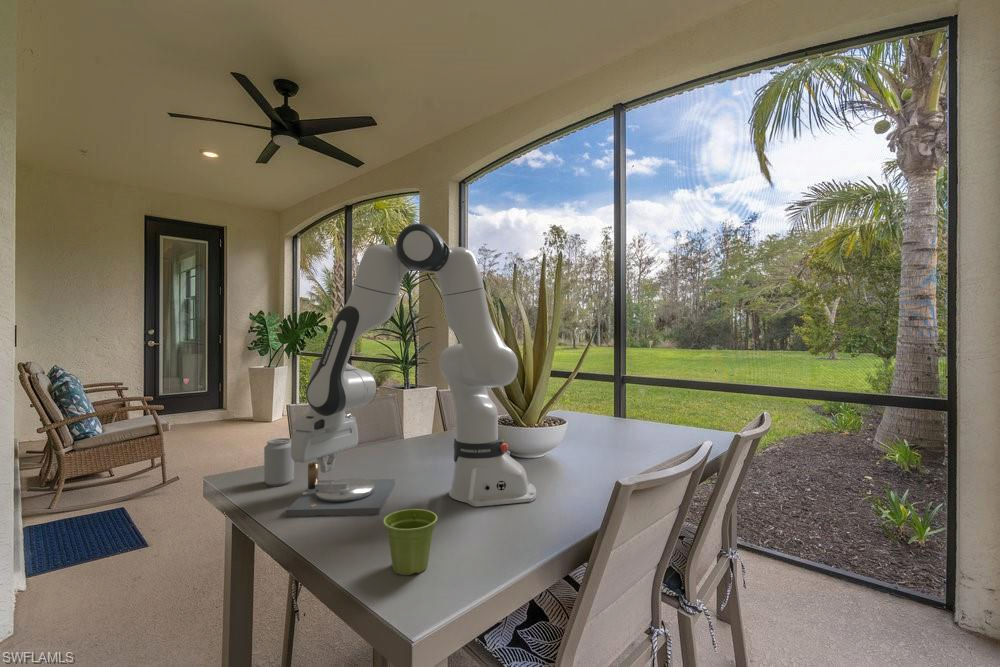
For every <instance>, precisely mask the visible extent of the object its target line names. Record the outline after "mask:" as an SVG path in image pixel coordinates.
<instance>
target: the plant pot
mask: <svg viewBox="0 0 1000 667" xmlns="http://www.w3.org/2000/svg"><path fill="white" fill-rule="evenodd" d="M437 521H438V516H437V514H436V513H435V512H433V511H432V510H427V509H422V508H410V509H402V510H397V511H393V512H391V513H389V514H387V515H386V516H385V517H384V518H383V525H384V527H385V529H386V533H387V534H388V540H389V541H388V543H389V548H390V549H389V550H390V556H391V562H392V564H391V565H392V569H393V571H394V572H395V573H396V574H399V575H403V576H411V575H412V574H414V573H418V574H420V573H422V572H424V571H425V570H426V569H427V568H428V566H429V558H430V552H431V545H432V539H433V538H432V537H433V532H434V529H435V525H436V523H437Z"/></svg>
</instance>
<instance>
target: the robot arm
mask: <svg viewBox="0 0 1000 667" xmlns="http://www.w3.org/2000/svg"><path fill="white" fill-rule="evenodd" d="M416 271H417V272H432V273H434V275H435V276H436V278H437V281H438V285H439V290H440V295H441V300H442V301H441V302H442V305H443V311H444V315H445V319H446V324H447V326H448V328H449V329H450V330H451V331H452V332H454V334H455V335H456V337H457V338H458V340H459V342H460V343H456V344H454V345H450V346H448V347H446V348H444V350H443V351H442V352H441V354H440V356H439V358H438V367H439V371H440V373H441V375H442V376H443V377H444V379H445V381H446V382H447V384H448V386H449V387H448V388H449V390H450V395H451V397H452V401H453V406H454V413H455V414H454V420H455V423H454V424H455V438H453V439H454V441H453V443H452V444H453V446H452V447H453V453H452V454H453V455H452V456H453V461H454V467H453V475H452V481H451V484H450V485H451V486H450V489H449V491H448V492H449V493H448V496H449V497H451V499H454V500H456V501H459V502H462V503H466V504H469V505H470V506H471V507H486V506H488V507H489V506H499V505H507V504H509V505H510V504H518V503H519V504H521V503H531V502H534V500H535V499H536V498H537V489H536V487H535V485H534V484H532V483H531V482H529V481H528V476H527V472H526V470H525V468H524V466H523V465H522V464H521V463H519V462H518V461H517V460H516V459H514V458H513V457H511V456H510V455H509V454H507V452H508V451H509V445H508V443H506V441H505V440H504V439H503V438H502V439H501V438H500V437H499V411H498V408H497V405H496V403H494V402H493V401H492V399H491V397H490V395H489V392H488V388H489V389H490V388H492V389H494V388H501V387H506V386H509V385H510V384H512V383H513V382H514V380H515V379H516V377H517V374H518V371H519V360H518V356H517V355H516V354H515V352H514V351H513V350H512V349H511V348H510V347H508V345H507V344H506V343H505V342H504V341H503V339H502V338H501V336H500V334H499V333H498V330H497V329H496V327H495V325H494V323H493V320H492V316H491V315H490V314H491V313H490V310H489V304H488V301H487V296H486V290H485V284H484V280H483V276H482V273H481V269H480V266H479V263H478V261H477V258H476V254H474V252H473V251H472V250H471V249H469V248H467V247H464V246H456V247H455V246H453V247H450V246H449V245H448V244H447V242H446V241H445V240H444V239H443V238H442V237H441V235H440V234H439V233H438V232H437V231H436V230H435V229H434V228H433V227H432V226H429V225H427V224H424V223H412V224H409V225H407V226H406V227H404V228H403V229H402V230H401V231H400V232H399V234H398V235H397V238H396V242H395V244H394V245H387V244H380V243H378V244H373V245H370V246H368V247H367V248H366V249H365V251H364V253H363V255H362V258H361V260H360V263H359V265H358V267H357V271H356V274H355V277H354V282H353V285H352V290H351V293H350V295H349V298H348V300H347V302H346V303H345V305H344V307H343V308H342V309H341V310H340V311H339V312H338V313H337V315H336V316H335V319H334V321H333V324H332V326H331V329H330V331H329V335H328V337H327V338H326V339H327V340H326V342H325V346H324V348H323V352H322V354H321V357H318V358H316V359H315V360H314V361H312V363H311V366H310V370H309V378H308V379H309V381H308V384H307V386H306V392H305V393H306V395H305V396H306V400H307V403H308V405H309V406H308V410H309V411H308V412H306V413H305V414H303V415H302V416H300V417H299V418H297V419H295V420H294V421H292V425H291V426H292V429H293V430H295V431H294V432H293V433H292V435H291V457H292V459H293V460H294V463H295V462H297V463H307V462H310V461H313V460H316V461H317V463H318V465H320V466H319V467H320V468H319V469H320V473H324V474H325V473H328V472H330V471H333V470H334V469H335V463H336V459H337V457H338V452H341V451H345V450H347V449H350V448H354V447H356V446H357V445H358V443H359V433H358V432H359V431H358V424H357V422H356V421H357V419H356V416H355V415H354V414H353V413H351V412H350V413H349V412H347V414H346V411H348V410H353V409H357V408H359V407H364V406H367V405H369V404H371V403H372V402H373V401H374V399H375V398H376V395H377V392H378V386H377V380H376V378H375V376H374V375H373V374H372V373H371V372H370V371H368V370H366V369H361V368H359V367H355V366H354V365H351V364H350V363H348V362H349V359H350V357H351V354H352V351H353V348H354V346H355V344H356V342H357V340H358V339H359V338H360V337H361V336H362V335H364V334H365V333H367V332H368V331H370V330H372V329H374V328H376V327H379V326H381V325H383V324H384V323H386V322H388V320H390V319H391V317H392V315H393V313H394V312H395V309H396V307H397V303H398V298H399V294H400V290H401V285H402V282H403V280H404V277H405V275H406V274H407V273H408V272H416Z"/></svg>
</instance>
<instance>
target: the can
mask: <svg viewBox="0 0 1000 667" xmlns="http://www.w3.org/2000/svg"><path fill="white" fill-rule="evenodd" d="M291 440H292V438H289V437H281V438H280V437H279V438H273V439H269V440H267V441H266V445H264V446H263V450H264V457H263V458H264V459H263V461H264V462H263V463H264V465H263V468H264V469H263V473H264V475H263V476H264V478H263V480H264V483H265V484H266V485H267V486H269V487H281V486H280V485H282V486H285V484H286V485H288V484H287V483H289V482H290V483H291V482H293V481H294V479H295V461H294V460H293V459H292V457H291ZM290 483H289V484H290Z"/></svg>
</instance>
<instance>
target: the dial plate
mask: <svg viewBox="0 0 1000 667" xmlns="http://www.w3.org/2000/svg"><path fill="white" fill-rule="evenodd" d="M335 480H336V479H335ZM335 480H334V479H331V480H330V479H329V480H326V479H325V480H318V482H330V481H335ZM369 480H370V481H372V482H373V483H374V492H373V493H372V494H370V495H368V496H366V497H364V498H361V499H357V500H352V501H345V502H327V501H322V500H319V499H317V498H316V489H308V488H307V489H306V490H305V491H304V492H302V493H301V495H300V496H299V497H298V498H297V499H296V500H295V501H293V503H291V504H290V505H289V506H288V507H287V508H286V509H285V517H321V515H330V516H361V515H362V516H364V515H365V516H367V515H368V516H369V515H370V514H371V515H372V514H373V516H374V514H376V515H380V513H381V512H382V510H383V508H384V506H385V505H386V503H387V501H388V499H389V497H390V495H391V493H392V491H393V489H394V487H395V486H396V479H395V478H394V479H393V478H392V479H382V478H381V479H369ZM315 515H316V516H315ZM318 515H320V516H318ZM371 515H370V516H371Z"/></svg>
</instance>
